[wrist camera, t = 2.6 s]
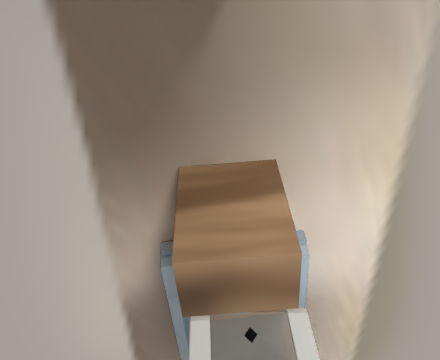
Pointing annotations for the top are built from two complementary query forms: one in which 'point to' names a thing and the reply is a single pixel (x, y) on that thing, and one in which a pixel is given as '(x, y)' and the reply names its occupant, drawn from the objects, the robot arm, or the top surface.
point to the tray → (183, 323)
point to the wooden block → (234, 240)
